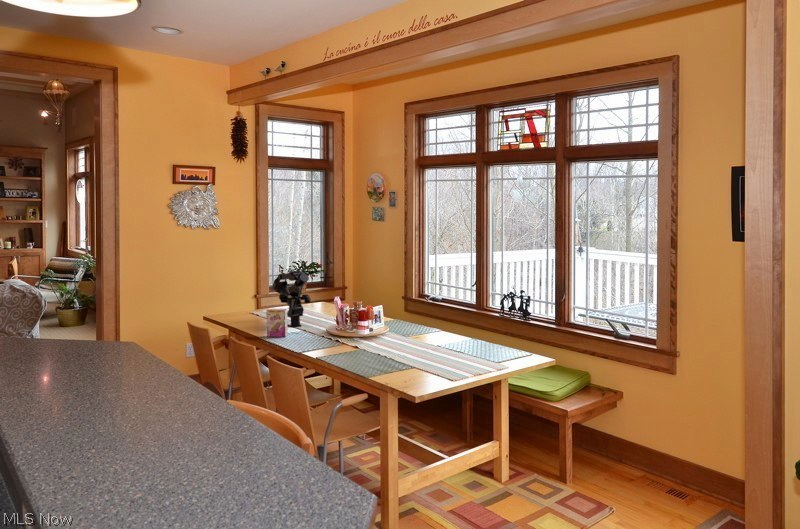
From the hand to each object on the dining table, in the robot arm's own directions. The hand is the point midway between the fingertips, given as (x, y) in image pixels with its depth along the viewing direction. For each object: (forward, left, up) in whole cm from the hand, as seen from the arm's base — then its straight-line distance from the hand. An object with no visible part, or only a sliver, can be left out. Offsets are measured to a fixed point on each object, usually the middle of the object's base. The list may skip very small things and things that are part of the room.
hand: (291, 309), depth 389 cm
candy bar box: (+9, -10, -14) cm, 19 cm away
